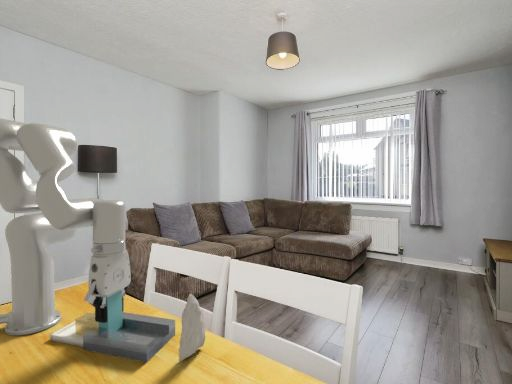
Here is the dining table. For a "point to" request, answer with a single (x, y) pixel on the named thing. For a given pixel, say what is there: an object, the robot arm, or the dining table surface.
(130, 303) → the dining table surface
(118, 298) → the teal rectangular block
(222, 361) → the dining table surface
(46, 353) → the dining table surface
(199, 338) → the stone tool
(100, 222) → the robot arm
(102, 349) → the slot board
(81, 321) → the chip
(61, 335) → the tray
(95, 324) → the gold cube
